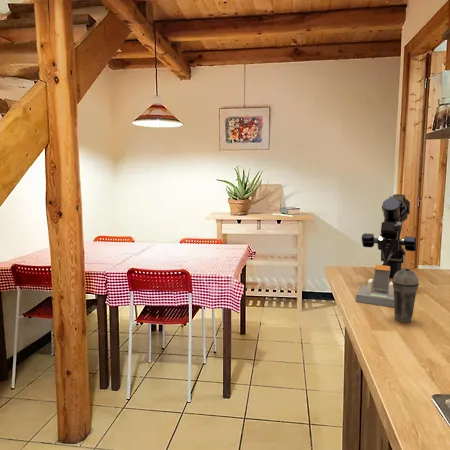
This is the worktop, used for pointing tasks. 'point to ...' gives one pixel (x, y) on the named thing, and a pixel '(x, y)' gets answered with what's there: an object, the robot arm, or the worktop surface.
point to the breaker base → (376, 295)
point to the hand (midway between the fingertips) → (385, 261)
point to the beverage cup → (404, 293)
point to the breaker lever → (381, 278)
